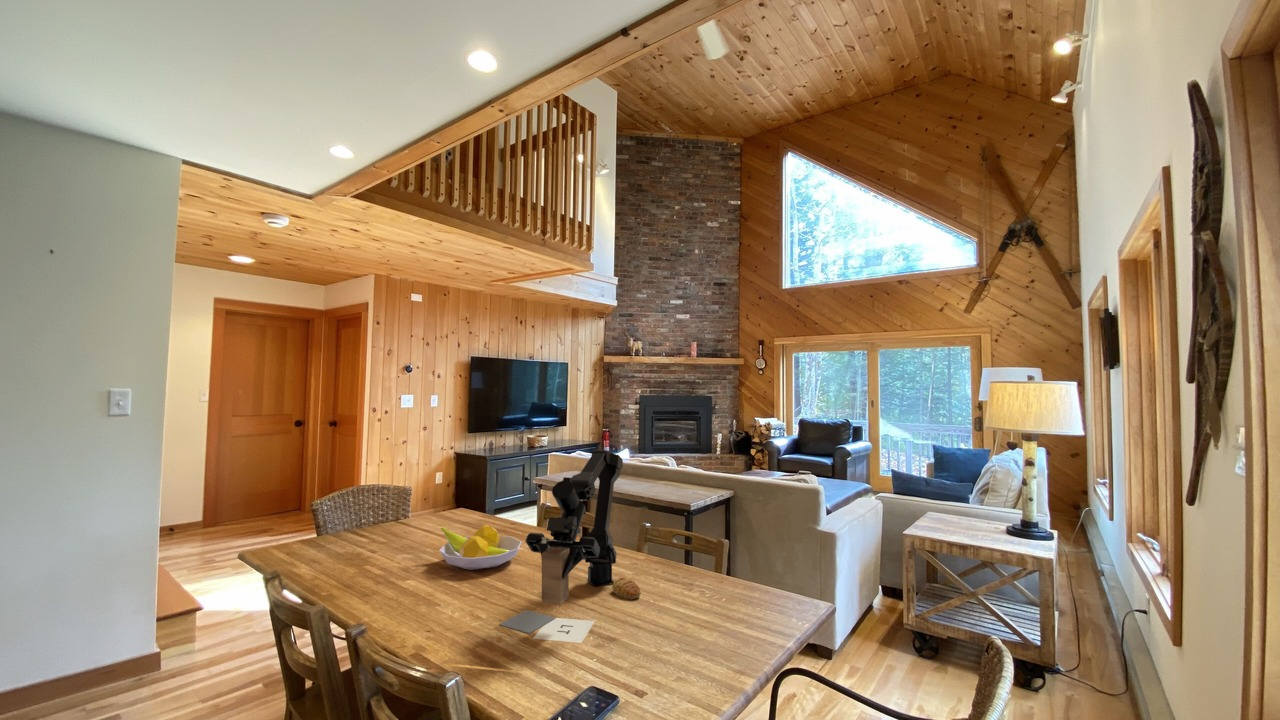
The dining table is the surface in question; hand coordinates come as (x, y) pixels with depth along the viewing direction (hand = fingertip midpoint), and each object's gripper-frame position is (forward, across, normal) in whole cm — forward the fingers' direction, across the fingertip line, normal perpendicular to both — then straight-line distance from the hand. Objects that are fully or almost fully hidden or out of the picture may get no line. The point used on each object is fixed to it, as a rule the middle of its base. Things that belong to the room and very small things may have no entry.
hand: (552, 576), depth 134 cm
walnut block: (+3, 0, +5) cm, 6 cm away
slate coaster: (+8, -8, +11) cm, 16 cm away
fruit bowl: (-19, -46, +39) cm, 64 cm away
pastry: (-10, +10, +30) cm, 33 cm away
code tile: (+9, +3, +10) cm, 14 cm away
